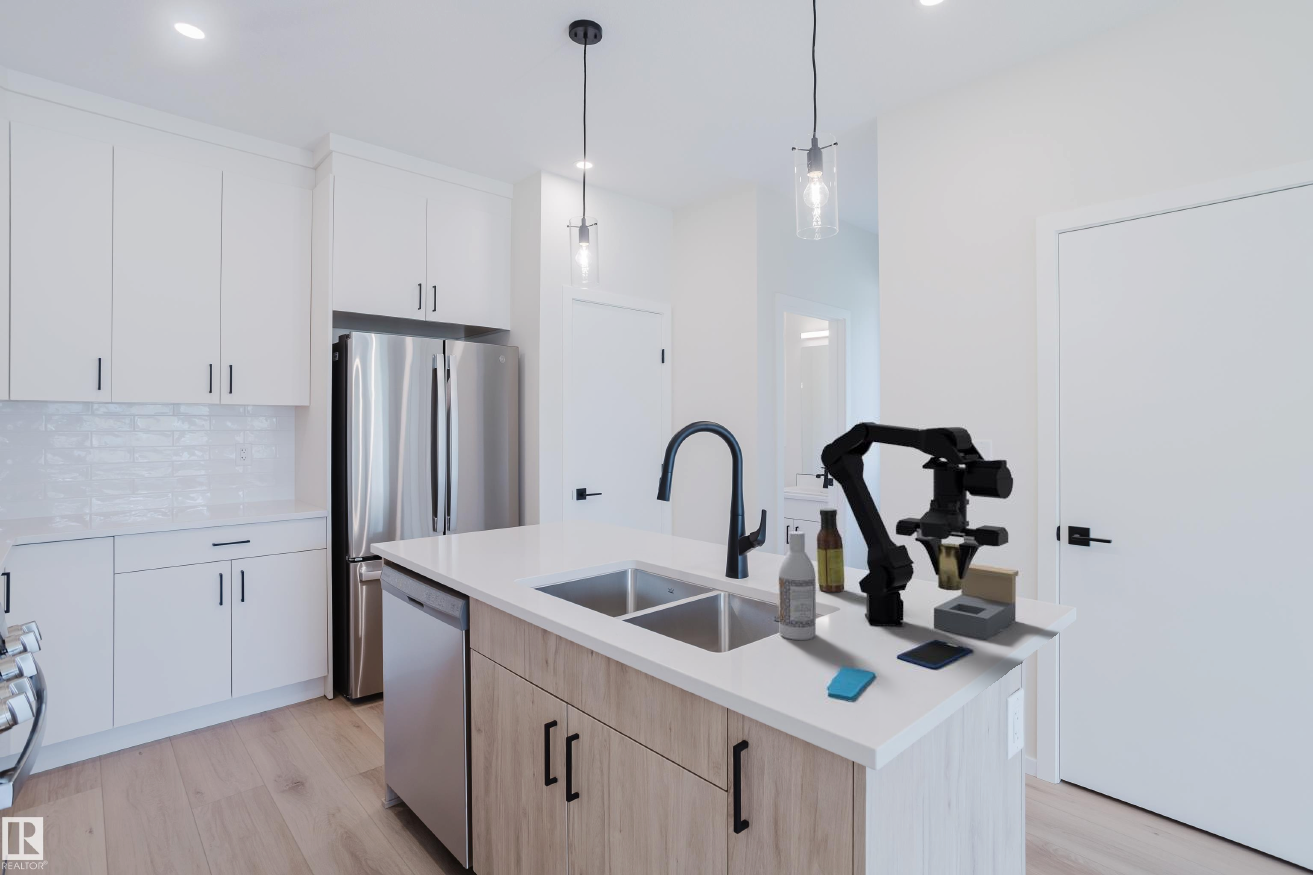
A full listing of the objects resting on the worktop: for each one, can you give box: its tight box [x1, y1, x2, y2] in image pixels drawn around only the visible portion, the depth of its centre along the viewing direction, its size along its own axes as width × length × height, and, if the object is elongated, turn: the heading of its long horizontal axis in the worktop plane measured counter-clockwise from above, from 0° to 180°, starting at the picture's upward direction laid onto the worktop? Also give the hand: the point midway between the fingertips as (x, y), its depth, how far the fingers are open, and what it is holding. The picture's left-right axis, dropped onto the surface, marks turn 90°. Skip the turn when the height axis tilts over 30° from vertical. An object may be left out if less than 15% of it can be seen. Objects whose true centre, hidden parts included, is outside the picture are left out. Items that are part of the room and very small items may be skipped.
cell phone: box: [896, 639, 974, 671], centre depth 115 cm, size 7×14×1 cm, turn 129°
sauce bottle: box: [816, 507, 845, 593], centre depth 159 cm, size 6×6×20 cm
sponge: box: [826, 666, 876, 702], centre depth 103 cm, size 2×12×6 cm
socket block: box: [933, 563, 1019, 641], centre depth 132 cm, size 16×11×10 cm
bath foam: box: [778, 530, 817, 641], centre depth 126 cm, size 7×7×20 cm
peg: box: [937, 542, 962, 591], centre depth 122 cm, size 4×4×8 cm
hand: (949, 576), depth 122 cm, fingers closed on peg, 4 cm apart
